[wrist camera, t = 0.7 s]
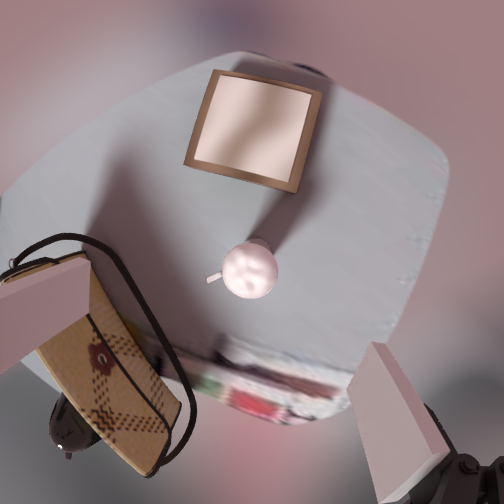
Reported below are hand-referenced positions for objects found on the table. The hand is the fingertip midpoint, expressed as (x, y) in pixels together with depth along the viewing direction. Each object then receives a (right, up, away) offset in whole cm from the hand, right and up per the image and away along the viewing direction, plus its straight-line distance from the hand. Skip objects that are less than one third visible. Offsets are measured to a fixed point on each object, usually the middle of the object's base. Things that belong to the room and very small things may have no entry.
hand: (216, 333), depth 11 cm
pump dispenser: (-24, -20, +26) cm, 40 cm away
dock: (+2, +16, +16) cm, 23 cm away
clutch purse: (-14, -7, +22) cm, 27 cm away
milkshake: (+2, +3, +19) cm, 19 cm away
